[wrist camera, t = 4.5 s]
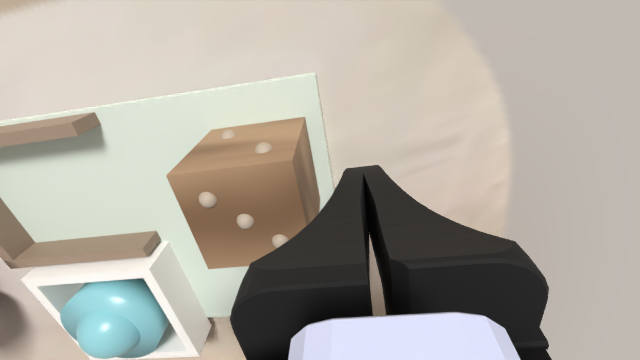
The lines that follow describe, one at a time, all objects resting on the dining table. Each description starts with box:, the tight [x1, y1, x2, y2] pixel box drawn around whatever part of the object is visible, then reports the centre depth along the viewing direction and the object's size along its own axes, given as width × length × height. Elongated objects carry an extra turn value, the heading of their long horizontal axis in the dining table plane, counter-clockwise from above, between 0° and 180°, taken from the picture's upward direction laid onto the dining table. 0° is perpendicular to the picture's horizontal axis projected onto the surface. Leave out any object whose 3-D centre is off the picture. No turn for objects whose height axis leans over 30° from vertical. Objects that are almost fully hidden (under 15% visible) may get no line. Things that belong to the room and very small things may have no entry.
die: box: [166, 117, 320, 269], centre depth 13 cm, size 5×4×5 cm
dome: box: [60, 278, 170, 359], centre depth 19 cm, size 6×6×4 cm
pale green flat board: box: [0, 72, 335, 360], centre depth 18 cm, size 16×20×3 cm
